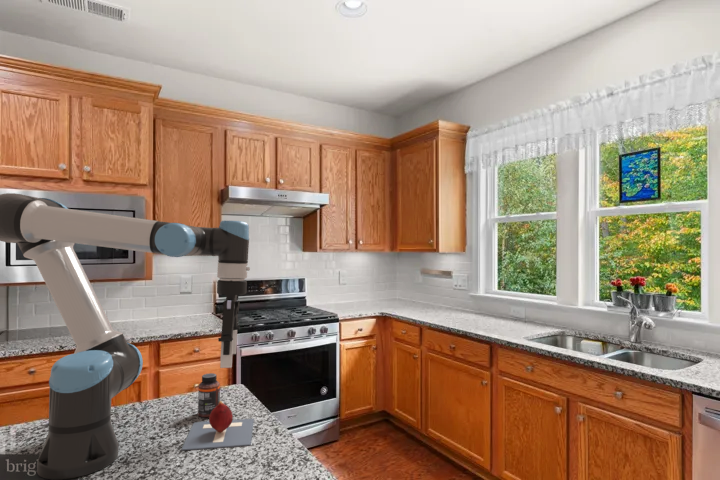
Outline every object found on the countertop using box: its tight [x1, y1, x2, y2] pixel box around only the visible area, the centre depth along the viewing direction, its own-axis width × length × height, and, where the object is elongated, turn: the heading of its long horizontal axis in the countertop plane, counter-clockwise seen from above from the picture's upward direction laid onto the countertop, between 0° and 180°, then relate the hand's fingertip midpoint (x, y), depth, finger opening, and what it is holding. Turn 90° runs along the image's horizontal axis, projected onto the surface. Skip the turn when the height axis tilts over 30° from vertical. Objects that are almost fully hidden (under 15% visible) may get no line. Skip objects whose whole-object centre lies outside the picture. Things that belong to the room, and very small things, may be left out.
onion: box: [208, 400, 234, 433], centre depth 110 cm, size 6×6×8 cm
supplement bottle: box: [197, 372, 221, 418], centre depth 123 cm, size 6×6×11 cm
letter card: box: [181, 418, 255, 451], centre depth 110 cm, size 16×16×1 cm
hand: (228, 360), depth 111 cm, fingers open, 13 cm apart
